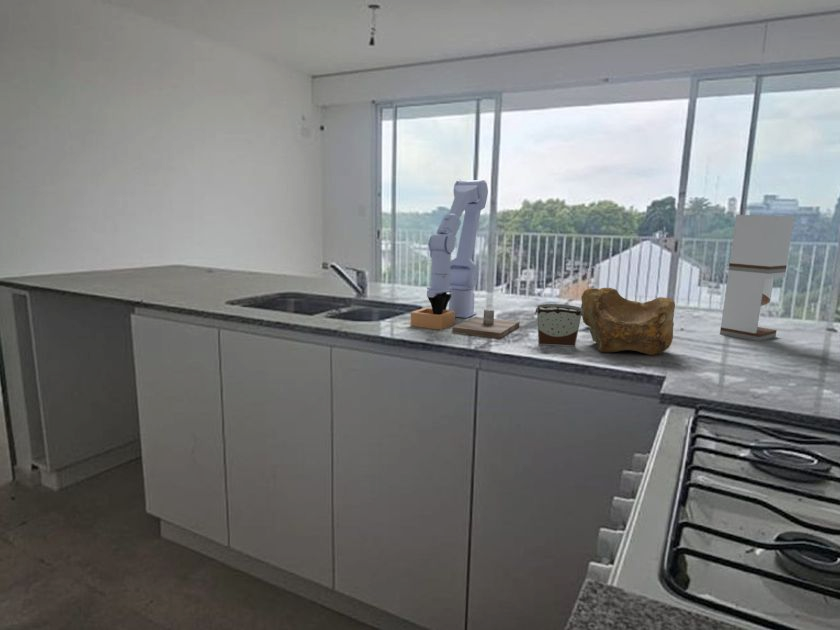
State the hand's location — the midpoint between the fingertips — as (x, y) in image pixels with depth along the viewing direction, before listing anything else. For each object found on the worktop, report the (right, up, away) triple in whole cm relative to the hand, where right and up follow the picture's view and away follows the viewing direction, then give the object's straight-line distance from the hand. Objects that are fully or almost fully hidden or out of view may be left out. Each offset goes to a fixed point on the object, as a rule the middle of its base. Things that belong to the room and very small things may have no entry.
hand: (438, 317), depth 164 cm
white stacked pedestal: (+92, -5, -5) cm, 92 cm away
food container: (+30, -7, -22) cm, 38 cm away
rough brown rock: (+45, -8, -28) cm, 53 cm away
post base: (+14, -3, -8) cm, 16 cm away
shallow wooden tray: (-2, -2, -4) cm, 5 cm away
